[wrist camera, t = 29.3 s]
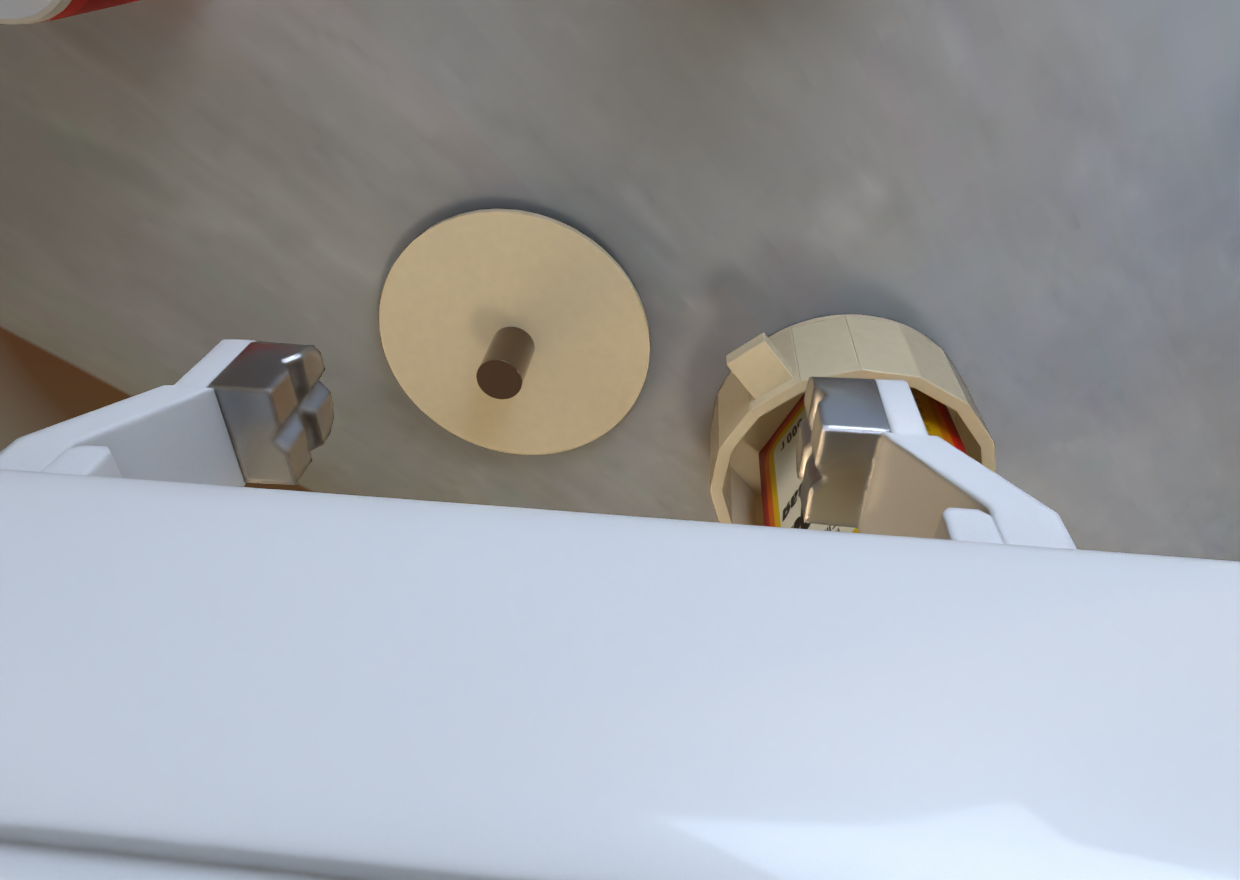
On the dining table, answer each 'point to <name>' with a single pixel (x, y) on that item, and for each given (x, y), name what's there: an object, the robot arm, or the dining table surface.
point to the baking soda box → (782, 475)
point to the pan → (778, 379)
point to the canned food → (49, 9)
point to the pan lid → (514, 331)
